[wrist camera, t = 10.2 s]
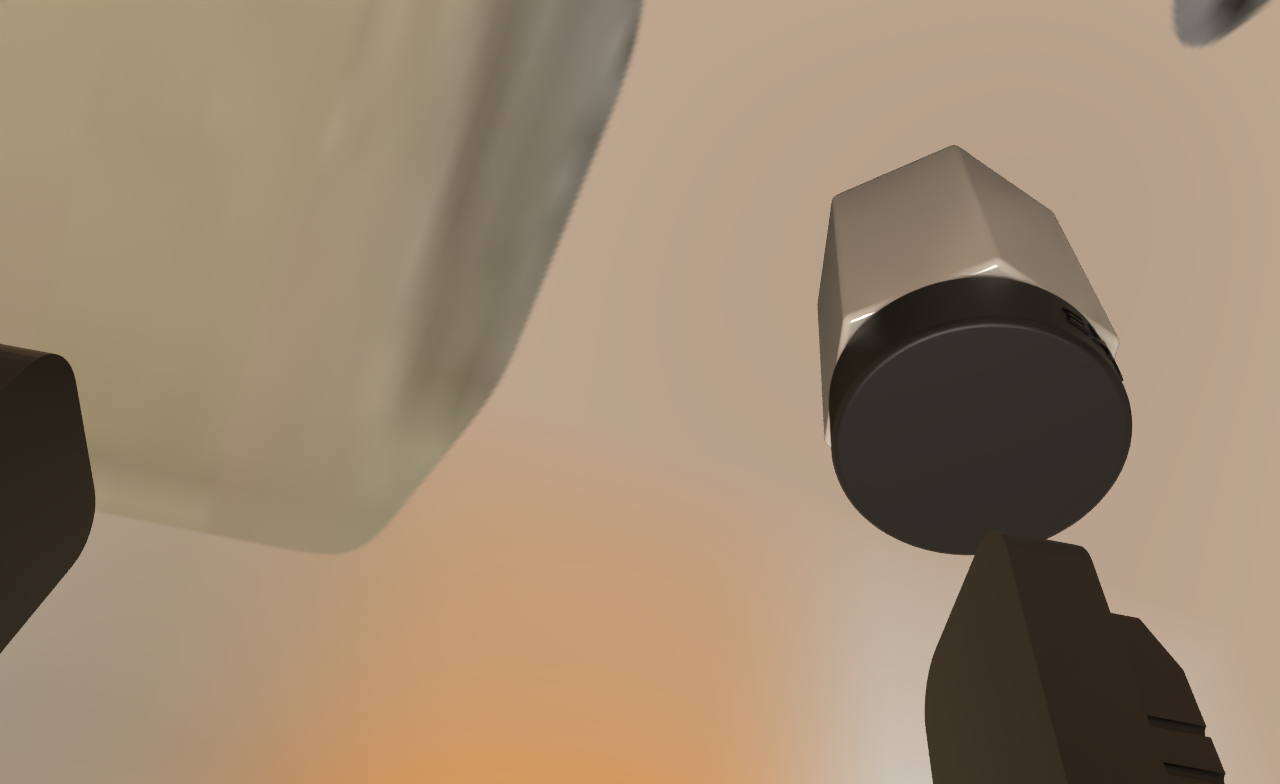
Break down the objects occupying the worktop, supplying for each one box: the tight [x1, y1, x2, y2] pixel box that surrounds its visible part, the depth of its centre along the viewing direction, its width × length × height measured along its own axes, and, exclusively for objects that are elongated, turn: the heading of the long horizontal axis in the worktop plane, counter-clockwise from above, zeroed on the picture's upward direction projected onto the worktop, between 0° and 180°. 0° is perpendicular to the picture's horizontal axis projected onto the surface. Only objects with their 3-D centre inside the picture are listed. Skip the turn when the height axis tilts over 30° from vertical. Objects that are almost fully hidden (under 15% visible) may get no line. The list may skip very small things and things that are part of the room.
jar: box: [818, 145, 1132, 555], centre depth 35 cm, size 9×8×12 cm
